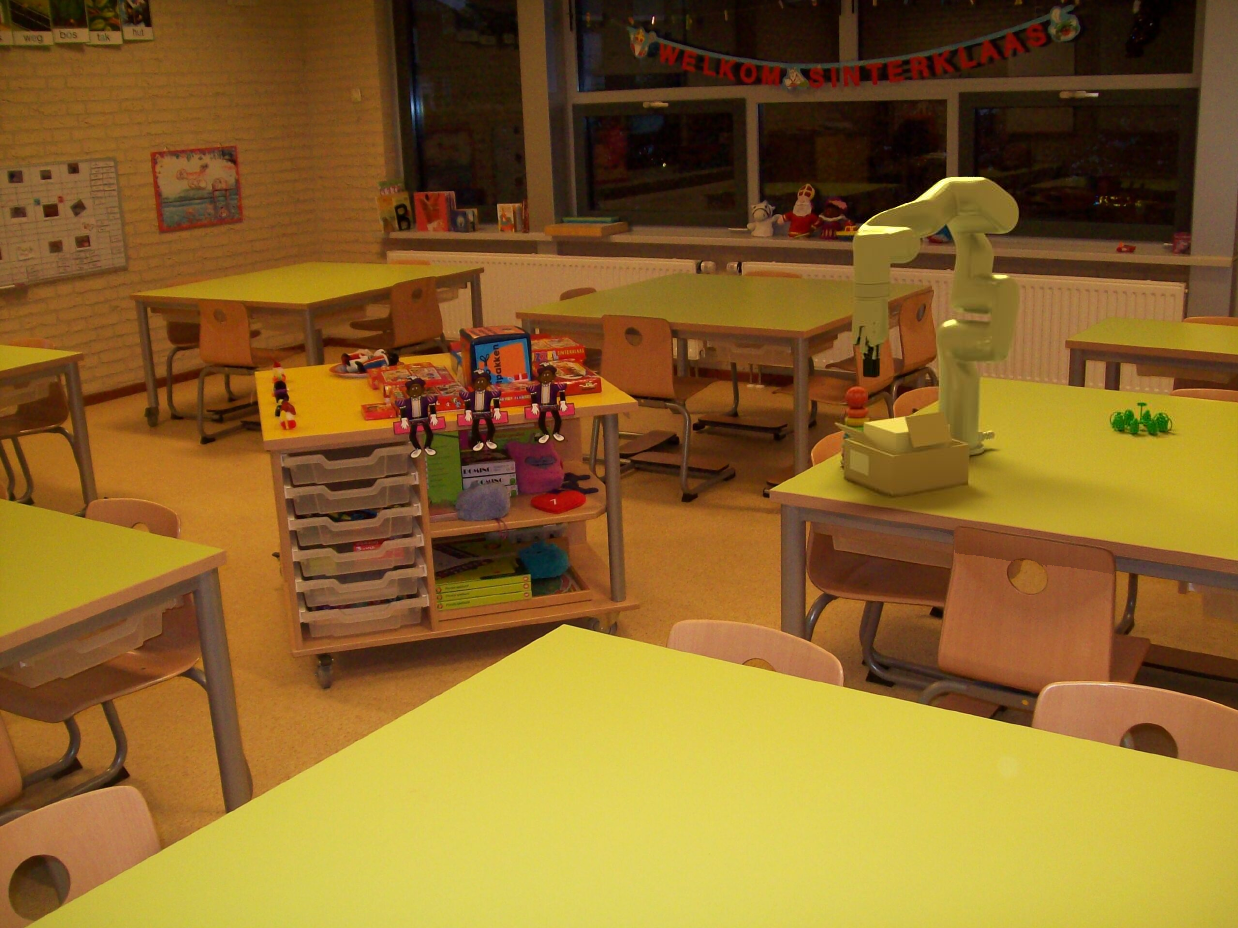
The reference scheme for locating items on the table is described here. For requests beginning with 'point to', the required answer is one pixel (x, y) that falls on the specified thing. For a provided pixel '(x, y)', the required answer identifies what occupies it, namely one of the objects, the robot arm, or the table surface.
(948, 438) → the flap left
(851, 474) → the carton
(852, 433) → the flap far
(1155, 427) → the chandelier
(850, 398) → the stacking toy
